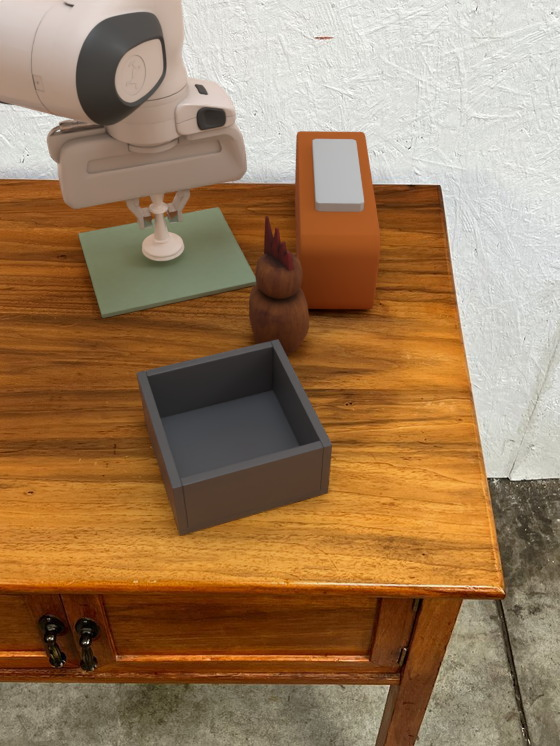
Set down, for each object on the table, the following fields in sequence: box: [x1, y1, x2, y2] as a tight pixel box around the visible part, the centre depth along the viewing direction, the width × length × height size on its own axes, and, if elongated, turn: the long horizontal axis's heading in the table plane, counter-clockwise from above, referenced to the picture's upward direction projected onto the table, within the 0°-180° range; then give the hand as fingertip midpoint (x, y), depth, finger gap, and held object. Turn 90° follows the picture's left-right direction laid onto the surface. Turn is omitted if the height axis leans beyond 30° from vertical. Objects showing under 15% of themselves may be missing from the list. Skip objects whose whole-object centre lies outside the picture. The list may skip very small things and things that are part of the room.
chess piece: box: [142, 193, 184, 261], centre depth 88 cm, size 5×5×10 cm
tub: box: [136, 339, 333, 537], centre depth 70 cm, size 14×14×7 cm
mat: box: [77, 206, 256, 319], centre depth 92 cm, size 18×16×1 cm
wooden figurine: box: [248, 215, 310, 356], centre depth 77 cm, size 7×6×15 cm
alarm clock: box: [294, 130, 382, 310], centre depth 90 cm, size 24×8×11 cm, turn 0°
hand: (160, 222), depth 89 cm, fingers closed on chess piece
